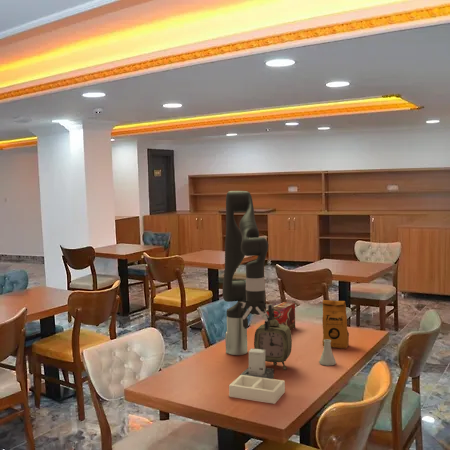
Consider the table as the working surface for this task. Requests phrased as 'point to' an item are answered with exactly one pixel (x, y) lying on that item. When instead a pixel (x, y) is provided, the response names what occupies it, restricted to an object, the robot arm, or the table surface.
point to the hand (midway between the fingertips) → (256, 329)
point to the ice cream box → (285, 314)
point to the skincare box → (257, 362)
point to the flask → (327, 354)
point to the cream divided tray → (257, 389)
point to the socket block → (268, 374)
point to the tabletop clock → (274, 341)
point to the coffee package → (335, 323)
